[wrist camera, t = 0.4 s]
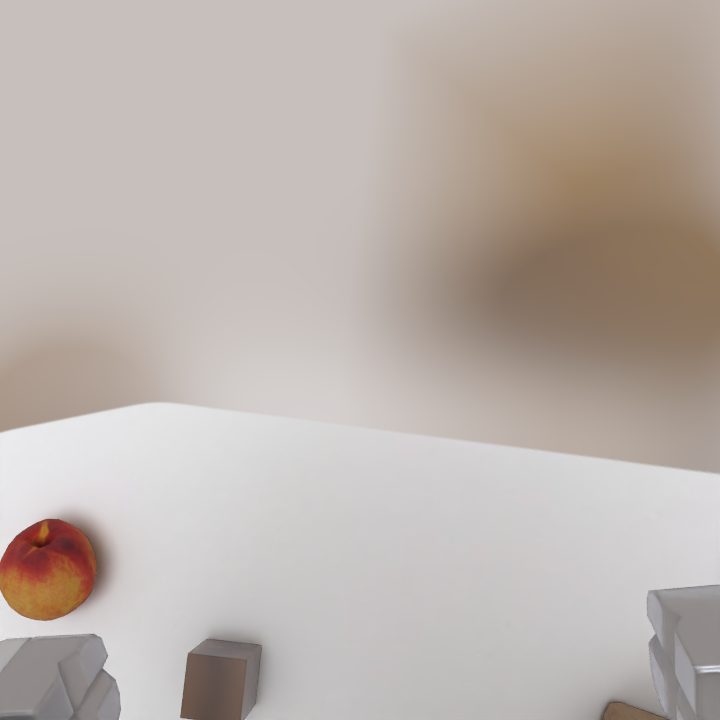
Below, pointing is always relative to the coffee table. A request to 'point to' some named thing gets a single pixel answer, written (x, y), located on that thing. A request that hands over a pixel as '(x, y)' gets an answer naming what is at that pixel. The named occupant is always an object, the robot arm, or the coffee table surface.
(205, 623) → the coffee table surface
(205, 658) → the middle block
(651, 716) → the wooden block
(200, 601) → the coffee table surface
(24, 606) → the fruit
